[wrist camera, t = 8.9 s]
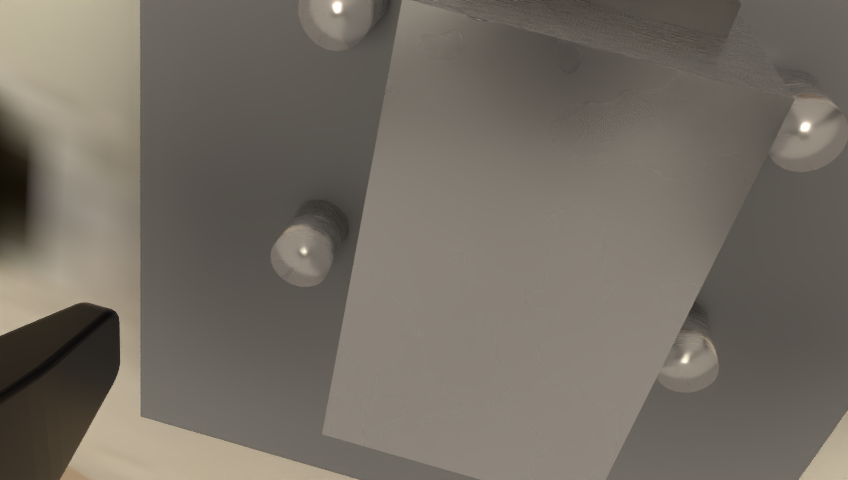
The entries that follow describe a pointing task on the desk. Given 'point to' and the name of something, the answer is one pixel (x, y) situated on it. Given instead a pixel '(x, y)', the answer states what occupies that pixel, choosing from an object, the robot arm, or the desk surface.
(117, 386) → the desk surface
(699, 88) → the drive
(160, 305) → the pin tray
